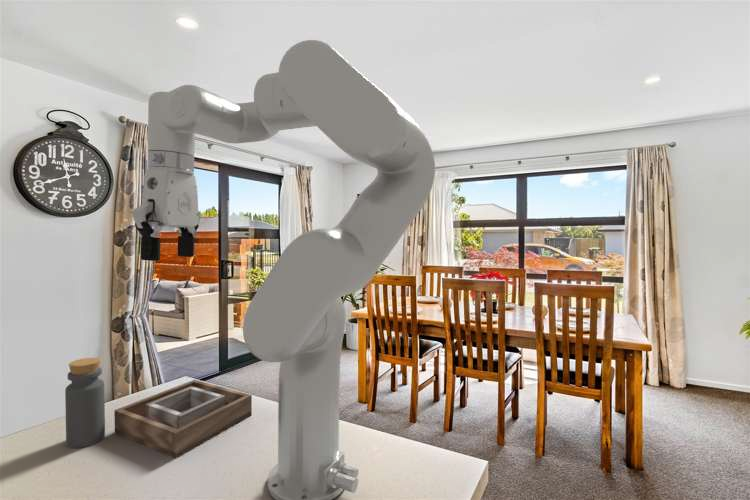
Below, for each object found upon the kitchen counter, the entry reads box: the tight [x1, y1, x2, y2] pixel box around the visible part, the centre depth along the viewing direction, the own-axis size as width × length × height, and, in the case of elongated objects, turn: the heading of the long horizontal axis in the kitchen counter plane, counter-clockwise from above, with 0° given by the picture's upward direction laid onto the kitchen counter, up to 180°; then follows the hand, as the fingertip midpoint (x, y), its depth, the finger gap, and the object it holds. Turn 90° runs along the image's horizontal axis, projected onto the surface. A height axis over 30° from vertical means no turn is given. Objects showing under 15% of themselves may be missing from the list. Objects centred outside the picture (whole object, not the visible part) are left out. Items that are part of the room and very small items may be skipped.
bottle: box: [64, 357, 106, 449], centre depth 72 cm, size 6×6×15 cm
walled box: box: [114, 379, 253, 459], centre depth 79 cm, size 18×18×5 cm
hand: (169, 258), depth 71 cm, fingers open, 9 cm apart
